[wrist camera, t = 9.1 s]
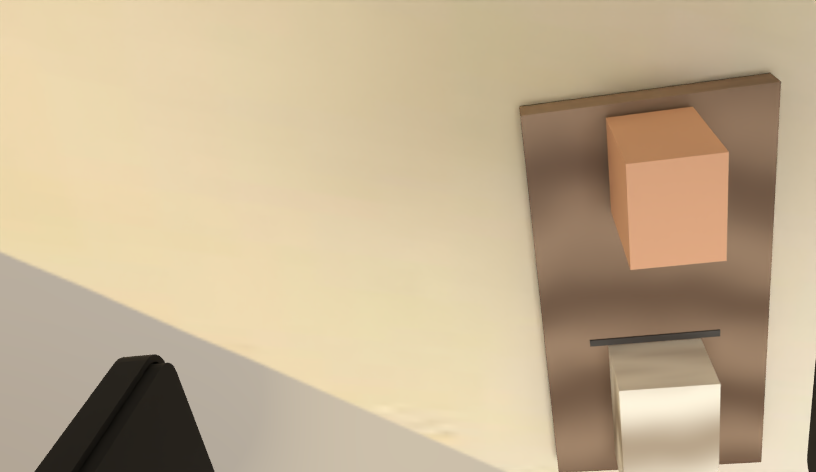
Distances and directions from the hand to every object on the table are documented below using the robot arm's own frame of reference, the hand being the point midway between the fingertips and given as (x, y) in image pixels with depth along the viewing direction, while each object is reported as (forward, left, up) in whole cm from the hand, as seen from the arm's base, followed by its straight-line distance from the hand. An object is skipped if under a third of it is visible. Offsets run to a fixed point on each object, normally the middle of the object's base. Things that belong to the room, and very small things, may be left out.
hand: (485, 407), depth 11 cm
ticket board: (-7, +16, -28) cm, 33 cm away
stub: (-7, +7, -26) cm, 28 cm away
